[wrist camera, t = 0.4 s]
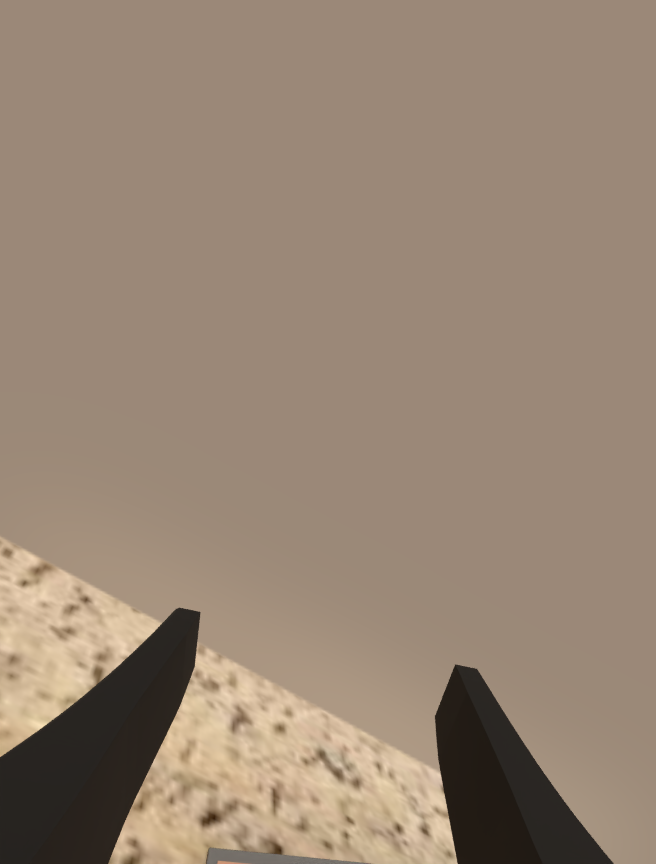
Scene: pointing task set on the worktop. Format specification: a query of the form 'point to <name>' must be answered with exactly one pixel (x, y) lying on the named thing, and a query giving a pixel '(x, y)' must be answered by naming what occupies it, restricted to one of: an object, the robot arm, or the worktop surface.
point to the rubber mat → (262, 858)
